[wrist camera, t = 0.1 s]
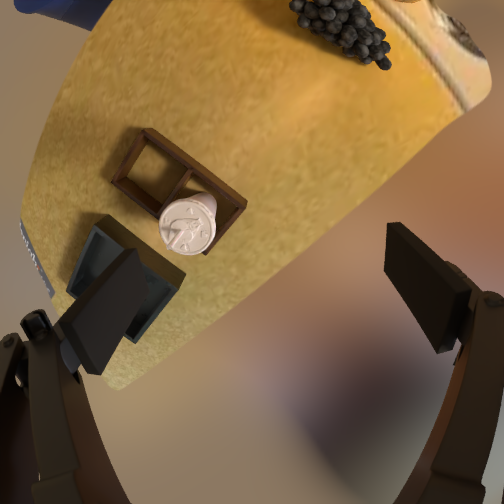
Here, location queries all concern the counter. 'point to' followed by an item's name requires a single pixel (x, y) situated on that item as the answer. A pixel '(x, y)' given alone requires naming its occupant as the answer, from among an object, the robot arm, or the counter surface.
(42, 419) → the robot arm
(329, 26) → the fruit
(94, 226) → the dark grey square tray
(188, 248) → the smoothie
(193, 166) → the wooden divided frame
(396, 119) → the counter surface
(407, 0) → the bagel
